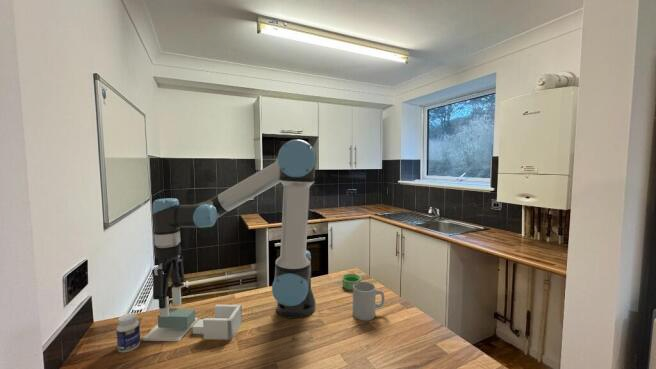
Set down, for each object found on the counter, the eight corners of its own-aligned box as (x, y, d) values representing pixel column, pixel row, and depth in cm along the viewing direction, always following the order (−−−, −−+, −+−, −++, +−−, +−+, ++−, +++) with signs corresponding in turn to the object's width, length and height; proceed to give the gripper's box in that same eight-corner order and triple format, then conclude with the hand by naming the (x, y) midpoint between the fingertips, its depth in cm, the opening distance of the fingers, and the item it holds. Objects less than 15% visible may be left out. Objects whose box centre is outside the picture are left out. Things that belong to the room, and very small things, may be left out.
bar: (195, 320, 94) (195, 309, 94) (187, 328, 89) (187, 317, 89) (167, 319, 95) (167, 308, 95) (158, 327, 90) (157, 315, 90)
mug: (354, 321, 97) (354, 292, 96) (351, 308, 106) (351, 281, 105) (387, 320, 98) (387, 291, 97) (381, 307, 106) (381, 280, 105)
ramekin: (340, 290, 121) (340, 280, 121) (342, 281, 130) (342, 272, 130) (360, 291, 120) (360, 282, 119) (361, 283, 128) (361, 274, 128)
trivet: (198, 319, 98) (197, 317, 98) (179, 341, 86) (178, 338, 86) (165, 319, 99) (165, 317, 98) (142, 340, 87) (142, 338, 87)
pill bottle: (128, 354, 80) (126, 323, 80) (112, 352, 81) (110, 320, 81) (145, 342, 86) (143, 312, 85) (130, 339, 87) (128, 310, 86)
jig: (241, 322, 97) (241, 304, 96) (231, 339, 87) (231, 320, 87) (203, 321, 97) (202, 304, 96) (188, 338, 87) (187, 319, 87)
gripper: (173, 236, 100) (176, 296, 102) (135, 254, 81) (140, 327, 82) (193, 236, 100) (196, 296, 101) (160, 254, 80) (164, 327, 82)
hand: (171, 310), depth 92 cm, fingers open, 6 cm apart
